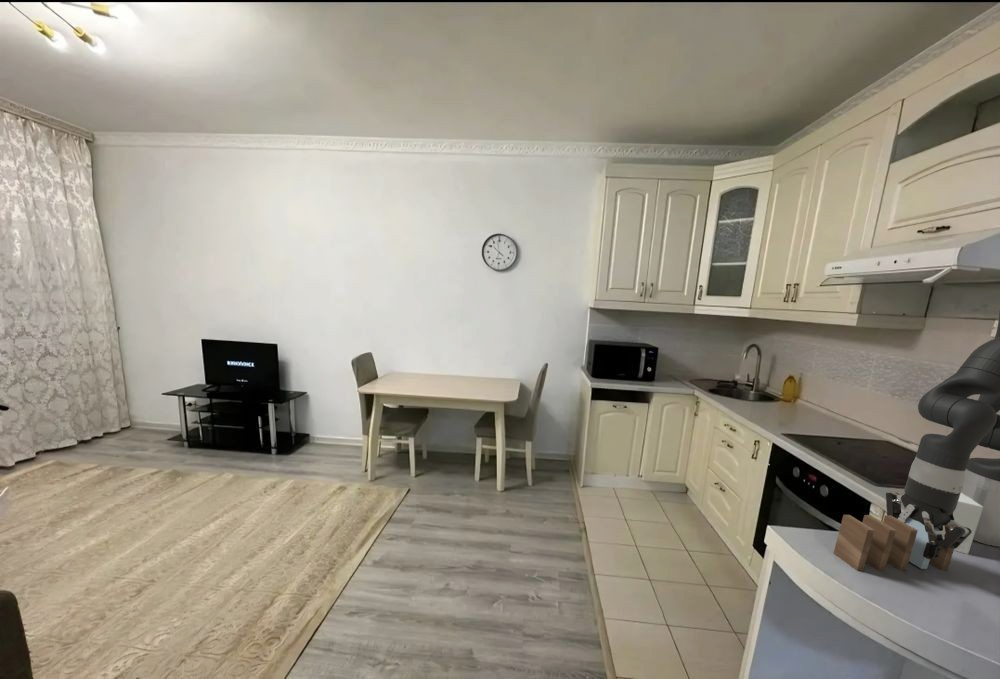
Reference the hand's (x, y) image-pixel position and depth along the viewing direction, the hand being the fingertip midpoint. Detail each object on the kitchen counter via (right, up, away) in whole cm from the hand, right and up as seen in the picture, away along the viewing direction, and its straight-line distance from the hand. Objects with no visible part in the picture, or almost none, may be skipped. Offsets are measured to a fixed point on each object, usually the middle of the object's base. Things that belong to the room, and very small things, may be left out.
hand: (914, 548), depth 81 cm
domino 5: (+5, -4, +1) cm, 6 cm away
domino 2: (-11, -2, -1) cm, 11 cm away
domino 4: (0, -3, 0) cm, 3 cm away
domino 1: (-17, -2, -1) cm, 17 cm away
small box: (+18, -4, +10) cm, 20 cm away
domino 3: (-6, -3, 0) cm, 6 cm away
